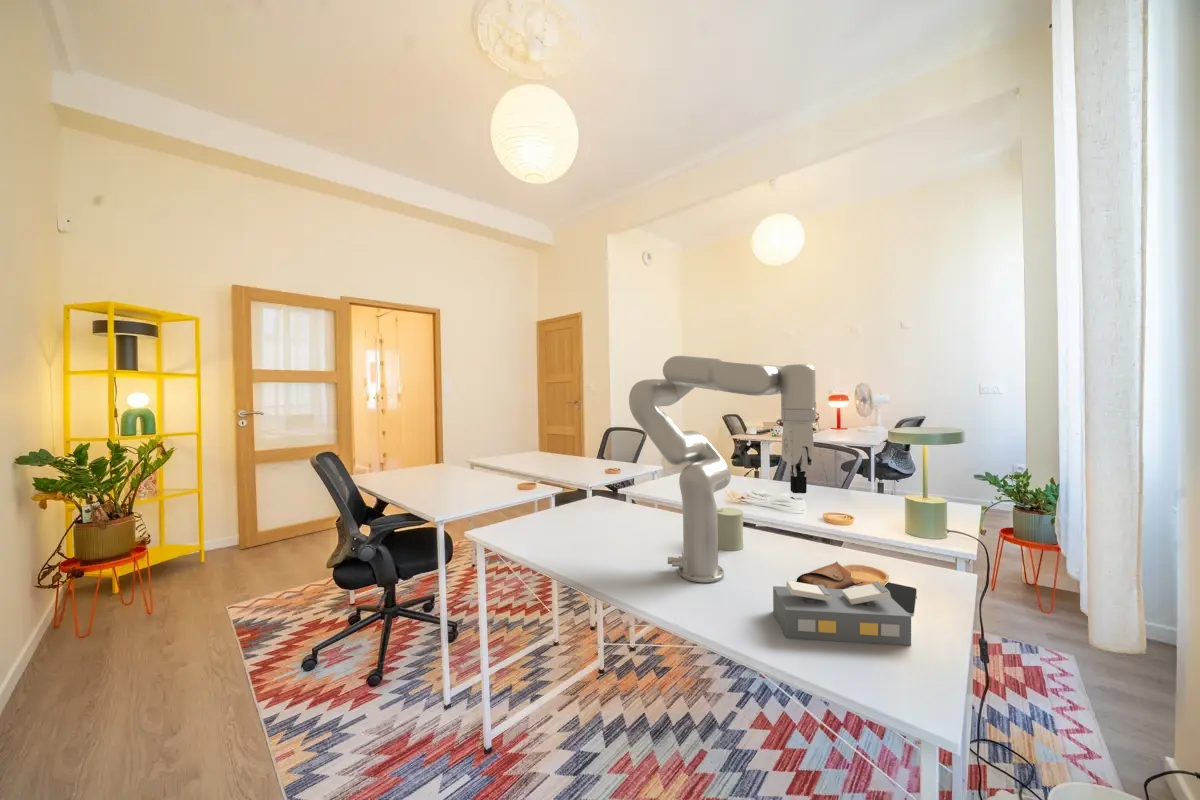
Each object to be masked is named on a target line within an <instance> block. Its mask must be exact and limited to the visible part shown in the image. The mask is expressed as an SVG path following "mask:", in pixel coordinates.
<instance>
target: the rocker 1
mask: <svg viewBox="0 0 1200 800" xmlns="http://www.w3.org/2000/svg"><path fill="white" fill-rule="evenodd" d="M785 587H787V588H788V589H789V591H790V593H791V594H792V595H796V596H802V597H808V598H814V599H820V600H826V601H831V598H832V596H831V594H830V593H829V592H828V591H827V589H826V588H825V587H824V586H823V585H818V586H817V585H811V584H805V583H799V582H796V581H792V580H786V586H785Z"/></svg>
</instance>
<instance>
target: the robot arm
mask: <svg viewBox="0 0 1200 800" xmlns="http://www.w3.org/2000/svg"><path fill="white" fill-rule="evenodd" d="M662 374H663V376H664V377H663V379H661V378H658V379H656V378H654V379H653V378H651V379H644V380H640V381H638V382H636V383H635V384H633V386H632V387H631V389H630V392H629V396H628V405H629V410H630V412H631V414H632V417H633V419H634V420H635V421H636V422H637V424H638V425H639V427H641V429H642V430H643V431H644V432H645V433H646V434H647V436H648V437H649V439H650V440H651V441H652V443H653V445H654V446H655V447H656V448H657V449H658V452H660V454H661V455H662V456H663V458H664V459H665V460H666V461H667V463H669V464H670V465H673V466H681V465H685V464H687V465H686V466H685V467H684V468H683V469H682V470H681V472H680V474H679V478H678V479H679V480H678V483H679V489H680V495H681V502H682V504H681V505H682V531H683V532H682V533H683V534H682V536H683V538H682V539H683V544H682V545H683V549H682V550H683V552H682V553H681V555H680V556H678V557H675V556H667V565H671V567H673V568H674V567H677V570H678V571H677V572H678V575H679V576H680V577H681V578H684V579H685V580H687V581H691V582H695V583H714V582H718V581H720V580H722V579H723V578H724V577H725V571H724V569H723V567H722V566H720V565H719V548H718V515H717V509H718V506H717V502H716V500H715V496H714V494H715V492H716V493H717V492H719V491H721V490H724V489H725V488H726V487H727V486H728V485H729V484H730V482H731V478H732V475H731V469H730V467H729V465H728V463H727V462H726V460H725V459H724V458H723V457H722V456H721V454H720V453H719V452H718V451H717V449H716V448H715V447H714V446H713V444H712V443H711V442H710V441H709V439H707V437H705V436H704V435H703V434H702V433H700V432H698V431H696V430H682V429H680V428H679V427H678V426H677V425H676V423H675V422H674V421H673V419H672V418H671V417H670V416H669V415H668V414H666V413H665V412H664V411H663V410H661V409H660V408H659V407H668V406H672V405H674V404H676V403H678V401H680V400H681V399H682V398H684V397H686V395H687V394H689V393H690V392H691V391H692V390H694V388H699V389H703V390H712V391H715V392H717V391H719V392H720V391H721V392H726V393H729V394H730V393H732V394H740V395H745V396H753V397H754V396H756V397H758V396H759V397H760V396H771V395H780V408H781V409H780V422H781V423H783V425H782V434H781V435H782V436H781V459H782V461H784V462H786V463H787V464H789V472H790V473H789V474H790V476H789V477H790V480H789V481H790V482H789V483H790V484H789V486H790V492H791V493H793V494H806V493H807V492H808V490H807V484H808V483H807V478H808V477H807V476H808V471H809V466H812V465H813V464H814V457H815V456H814V455H815V452H814V451H815V448H814V431H813V424H815V423H816V368H815V366H813V365H812V364H808V363H803V364H801V363H799V364H796V363H795V364H787V365H784V366H783V365H782V366H781V365H773V364H772V365H771V364H770V365H769V364H755V363H752V364H751V363H740V362H730V361H722V359H719V358H713V357H711V358H710V357H701V356H700V357H699V356H689V355H688V356H686V355H674V356H672V357H669V358H668V359H667V360H666V361H665V362H664V364H663V366H662ZM664 378H665V379H664Z"/></svg>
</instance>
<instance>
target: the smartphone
mask: <svg viewBox="0 0 1200 800" xmlns="http://www.w3.org/2000/svg"><path fill="white" fill-rule="evenodd" d="M887 582H888V583H887V584H886V585H885V586H884V587H885V588H886V589H887V590H888V591H890V595H891V598H892V599H893V600H894V601H895V602H896V603H898V604H899V605H900V606H901V607H902V608H903V609H904V610H905V611H906V612H907V613H908V614H909V615H910V616H911V617H914V616H915V611H916V610H915V609H916V602H917V601H916V599H918V598H917V597H918V592H917V591H918V590H917V588H916V587H912V586H907V585H902V584H898V583H894V582H889V581H887Z"/></svg>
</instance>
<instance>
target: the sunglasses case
mask: <svg viewBox="0 0 1200 800" xmlns="http://www.w3.org/2000/svg"><path fill="white" fill-rule="evenodd" d="M851 573H852V572H851V571H849V570H848V569H846V568H845V567H844V566H843V565H841V564H840V563H839V562H838V561H836V562H834V563H830V564H827V565H825V566H822V567H819V568H817V569H816V568H815V569H814V570H811V571H809V572H806V573H802V574H800V575H799V576H798V577H797V579H796V581H795V582H799V583H805V584H811V585H817V586H818V585H823V586H824V587H825V588H826V589H848V588H851V587H852V586H853V587H854V586H855V585H856V584H855V583H854V582H853V580H852V578H851Z"/></svg>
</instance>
